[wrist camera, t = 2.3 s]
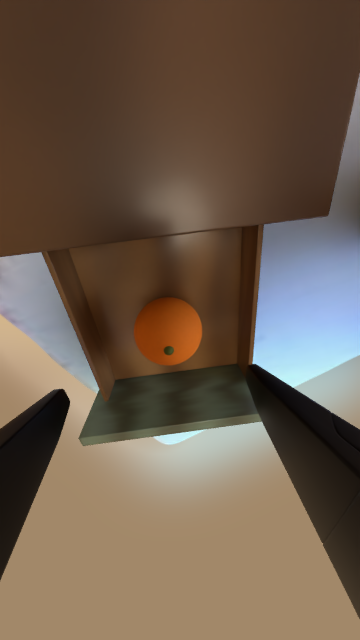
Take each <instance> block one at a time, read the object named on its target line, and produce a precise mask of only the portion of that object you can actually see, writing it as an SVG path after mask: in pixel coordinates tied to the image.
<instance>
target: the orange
mask: <svg viewBox="0 0 360 640" xmlns="http://www.w3.org/2000/svg"><path fill="white" fill-rule="evenodd" d="M134 338H135V342H136V345H137V347H138V349H139V350H140V352H141V353H142V354H143V355H144V356H145V357H146V358H147V359H149V360H150V361H152V362H154V363H156V364H160V365H176V364H180V363H182V362H184V361H186V360H187V359H189V358H190V357H191V356H192V355H193V354H194V353H195V351H196V350H197V348H198V347H199V345H200V342H201V338H202V324H201V321H200V318H199V316H198V314H197V312H196V311H195V310H194V309H193V307H192V306H190V305H189V304H188V303H186V302H185V301H183V300H181V299H177V298H173V297H164V298H159V299H156V300H154V301H151V302H150V303H148V304H147V305H146V306H145V307H144V308H143V309H142V310H141V311H140V313H139V314H138V316H137V318H136V321H135V325H134Z"/></svg>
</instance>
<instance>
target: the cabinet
mask: <svg viewBox="0 0 360 640" xmlns="http://www.w3.org/2000/svg"><path fill="white" fill-rule="evenodd" d="M359 73H360V0H0V257H5V256H13V255H21V254H29V253H37V252H45V251H53V250H61V249H69V248H77V247H85V246H93V245H101V244H109V243H117V242H125V241H133V240H141V239H150V238H158V237H166V236H174V235H182V234H190V233H198V232H206V231H214V230H222V229H230V228H238V227H246V226H254V225H262V224H270V223H278V222H286V221H294V220H302V219H310V218H318V217H326V216H328V215H329V211H330V206H331V202H332V197H333V192H334V188H335V183H336V179H337V174H338V170H339V165H340V160H341V156H342V151H343V147H344V142H345V138H346V133H347V128H348V124H349V119H350V115H351V110H352V106H353V101H354V96H355V92H356V87H357V83H358V78H359Z"/></svg>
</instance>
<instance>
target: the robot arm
mask: <svg viewBox="0 0 360 640" xmlns="http://www.w3.org/2000/svg"><path fill="white" fill-rule="evenodd" d="M246 382H247V385H248V388H249V391H250V393H251V396H252V399H253V401H254V404H255V407H256V409H257V412H258V414H259V416H260V418H261V420H262V422H263V424H264V426H265V428H266V430H267V433H268V435H269V437H270V438H271V441H272V443H273V445H274V447H275V448H276V451H277V453H278V455H279V457H280V459H281V461H282V463H283V465H284V467H285V469H286V471H287V473H288V475H289V477H290V479H291V481H292V483H293V485H294V487H295V489H296V491H297V493H298V495H299V497H300V499H301V501H302V503H303V505H304V507H305V509H306V511H307V513H308V515H309V517H310V519H311V521H312V523H313V525H314V527H315V529H316V531H317V533H318V535H319V537H320V540H321V542H322V543H323V546H324V548H325V550H326V552H327V554H328V556H329V558H330V560H331V562H332V564H333V566H334V568H335V570H336V572H337V574H338V576H339V578H340V580H341V582H342V584H343V586H344V588H345V590H346V592H347V594H348V596H349V598H350V600H351V602H352V604H353V606H354V609H355V610H356V613H357V615H358V617H359V618H360V429H358V428H356V427H355V426H353V425H351V424H350V423H348V422H346V421H345V420H343V419H341V418H340V417H338V416H336V415H335V414H334V413H331V412H330V411H329V410H327V409H326V408H324V407H323V406H321V405H319V404H318V403H316V402H315V401H313V400H311V399H310V398H308V397H307V396H305V395H303V394H302V393H300V392H299V391H297V390H296V389H294V388H293V387H291V386H289V385H288V384H286V383H285V382H283V381H282V380H280V379H278V378H277V377H275V376H274V375H272V374H270V373H269V372H267V371H266V370H264V369H263V368H261V367H259V366H258V365H256V364H250V365H247V367H246ZM69 406H70V400H69V398H68V396H67V394H66V392H65V391H64V390H63V389H56V390H53V391H51V392H50V393H48V394H47V395H46V396H44V397H43V398H42V399H40V400H39V401H38V402H36V403H35V404H33V405H32V406H31V407H29V408H28V409H27V410H25V411H24V412H23V413H21V414H20V415H18V417H16V418H15V419H13V420H12V421H10V422H9V423H8V424H6V425H5V426H4V427H2V428H1V429H0V580H1V577H2V575H3V573H4V570H5V568H6V565H7V563H8V561H9V558H10V556H11V554H12V551H13V549H14V546H15V544H16V542H17V539H18V537H19V534H20V532H21V529H22V527H23V525H24V522H25V520H26V517H27V515H28V513H29V510H30V508H31V505H32V503H33V501H34V498H35V496H36V493H37V491H38V488H39V486H40V484H41V481H42V479H43V477H44V474H45V472H46V469H47V467H48V465H49V462H50V460H51V457H52V455H53V453H54V450H55V448H56V445H57V443H58V440H59V437H60V435H61V431H62V429H63V425H64V422H65V419H66V416H67V413H68V409H69Z"/></svg>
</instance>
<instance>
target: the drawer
mask: <svg viewBox="0 0 360 640" xmlns="http://www.w3.org/2000/svg"><path fill="white" fill-rule="evenodd" d="M263 228H264V224H262V225H254V226H246V227H238V228H230V229H222V230H214V231H206V232H198V233H190V234H182V235H174V236H166V237H158V238H150V239H141V240H133V241H125V242H117V243H109V244H101V245H93V246H85V247H77V248H69V249H61V250H53V251H45V252H42V254H43V257H44V259H45V261H46V264H47V266H48V269H49V271H50V273H51V276H52V278H53V280H54V283H55V285H56V287H57V290H58V292H59V295H60V297H61V299H62V302H63V304H64V306H65V309H66V311H67V313H68V316H69V318H70V321H71V323H72V325H73V328H74V330H75V332H76V335H77V337H78V339H79V342H80V344H81V346H82V349H83V351H84V354H85V356H86V358H87V361H88V363H89V365H90V368H91V370H92V372H93V375H94V377H95V380H96V382H97V384H98V387H99V391H98V394H97V396H96V399H95V401H94V403H93V406H92V408H91V410H90V413H89V415H88V418H87V420H86V422H85V424H84V427H83V429H82V432H81V434H80V436H79V440H80V442H81V444H82V445H83V446H86V445H94V444H101V443H108V442H116V441H123V440H130V439H138V438H145V437H153V436H160V435H167V434H174V433H182V432H189V431H196V430H203V429H211V428H218V427H225V426H233V425H239V424H247V423H254V422H261V421H262V420H261V418H260V416H259V414H258V412H257V409H256V407H255V404H254V401H253V399H252V396H251V393H250V391H249V388H248V385H247V382H246V367H247V365H250V364H252V361H253V349H254V337H255V325H256V312H257V300H258V288H259V276H260V264H261V252H262V240H263ZM164 297H173V298H177V299H181V300H183V301H185V302H186V303H188V304H189V305H190V306H192V307H193V309H194V310H195V311H196V312H197V314H198V316H199V318H200V321H201V324H202V338H201V342H200V345H199V347H198V348H197V350H196V351H195V353H194V354H193V355H192V356H191V357H190V358H189V359H187V360H186V361H184V362H182V363H180V364H176V365H160V364H156V363H154V362H152V361H150V360H149V359H147V358H146V357H145V356H144V355H143V354H142V353H141V352H140V350H139V349H138V347H137V345H136V342H135V338H134V325H135V321H136V318H137V316H138V314H139V313H140V311H141V310H142V309H143V308H144V307H145V306H146V305H147V304H148V303H150V302H151V301H154V300H156V299H159V298H164Z"/></svg>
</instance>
